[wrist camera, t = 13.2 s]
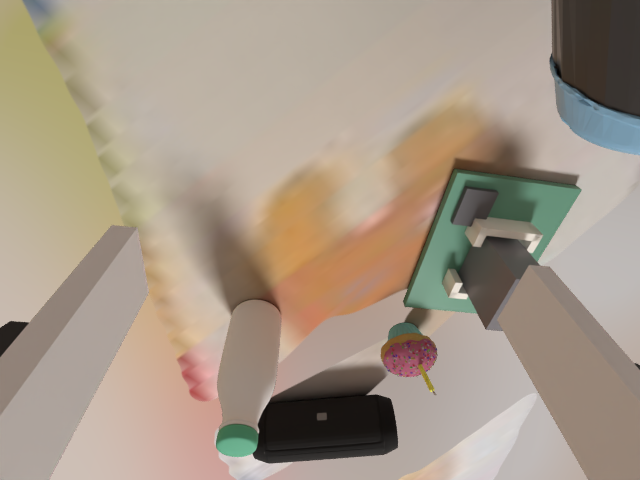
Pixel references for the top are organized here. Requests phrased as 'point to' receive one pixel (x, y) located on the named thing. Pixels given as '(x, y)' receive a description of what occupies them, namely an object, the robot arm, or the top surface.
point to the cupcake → (409, 352)
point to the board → (483, 230)
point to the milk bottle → (247, 374)
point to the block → (494, 276)
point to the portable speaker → (326, 429)
